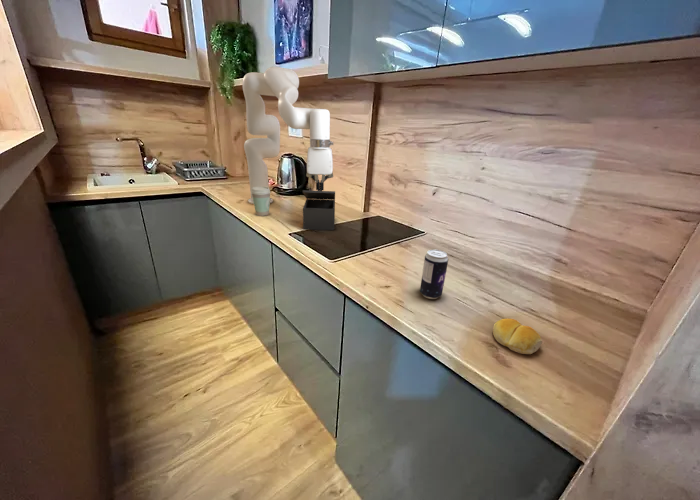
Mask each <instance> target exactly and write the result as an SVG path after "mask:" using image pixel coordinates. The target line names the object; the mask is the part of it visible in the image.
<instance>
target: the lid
mask: <svg viewBox="0 0 700 500" xmlns="http://www.w3.org/2000/svg"><path fill="white" fill-rule="evenodd" d="M302 194H303V195H304V197H305V200H306V199H323V200H335V201H336V191H335V190H332V191H331V190H322V191H318V190H304V189H302Z"/></svg>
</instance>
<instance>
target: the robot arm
mask: <svg viewBox="0 0 700 500" xmlns="http://www.w3.org/2000/svg"><path fill="white" fill-rule="evenodd" d="M299 86H300V78H299V76H298V74H297V72H296V71H295V70H293V69H291V68H285V67H280V66H270V67H268V68H266V70H265V71H264V73H263V72H256V71H253V72H248V73H246V74H245V75H244V76H243V78H242V91H243V95H244V100H245V113H246V114H245V115H246V129H247V132H248V133H249V134H250V135H252V136H266V137H251V138H248V139H246V140H245V141H244V144H243V149H244V153H245V158H246V161H247V173H248V182H249V183H248V184H249V194H250V198H248V199H247V203H248V204H251V205H254V202H253V197H252V193H251V191H252V188H253V187H269V188H270V185H269V184H270V183H269V181H270V180H269V168H268V165H267V163H266V162H265V160H264V159H272V158H276V157H278V156H279V155H280V152H281V151H280V149H281V124H280V121H279V119H278V117H277V116H275V115H273V114H266V103H265V101H264V98H263V97H262V96H269V97H276V98H277V100H278V101H277V110H278V113H279V117H280V118H281V119H282V121H283V122H284V123H285V124H286V125H287V126H288V127H289V128H291V129H293V130H309V147H308V148H307V152H306V153H307V154H306V175H305V176H306V177H307V178H310V179H312V180H313V181H314V182H315V191H325V189H324V188H325V186H324V185H325V182H326V181H327V180H328V179H333V178H334V173H333V172H334V157H333V149H332V148H331V146H334V141H332V140H331V112H330V110H328V109H326V108H311V107H310V108H309V107H298V106H297V107H296V106H294V104H295V103H296V102H297V100H298V98H299ZM319 176H321V179H319ZM273 202H274V199H273V198H271V197H270V204H272V203H273Z"/></svg>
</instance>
